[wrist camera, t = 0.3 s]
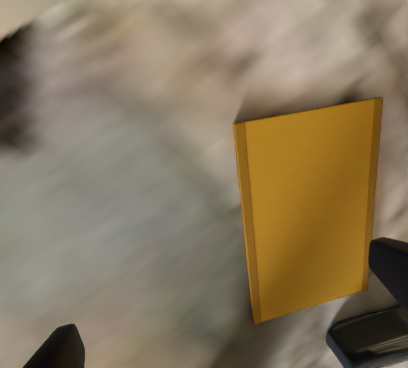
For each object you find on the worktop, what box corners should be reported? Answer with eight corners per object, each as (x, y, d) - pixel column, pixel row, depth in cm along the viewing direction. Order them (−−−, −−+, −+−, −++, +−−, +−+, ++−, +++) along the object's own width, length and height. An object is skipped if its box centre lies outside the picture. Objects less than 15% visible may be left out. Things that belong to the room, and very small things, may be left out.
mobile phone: (351, 385, 28) (478, 343, 30) (353, 363, 27) (485, 322, 29) (322, 342, 32) (434, 309, 34) (322, 322, 31) (437, 289, 33)
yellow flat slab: (364, 287, 31) (367, 289, 30) (252, 321, 29) (254, 324, 28) (379, 97, 24) (383, 97, 23) (232, 123, 22) (234, 124, 21)
